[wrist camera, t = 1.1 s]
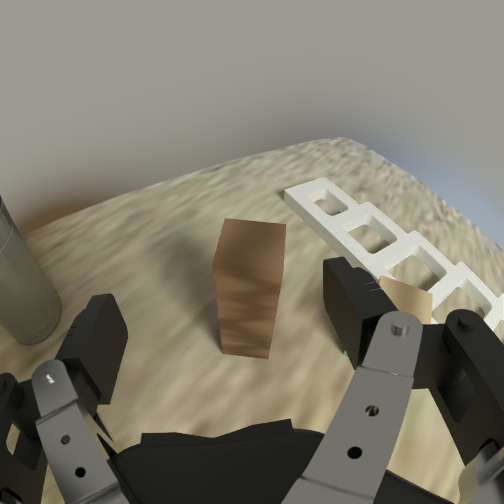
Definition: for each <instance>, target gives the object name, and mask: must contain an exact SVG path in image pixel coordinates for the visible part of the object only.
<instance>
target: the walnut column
mask: <svg viewBox="0 0 504 504" xmlns="http://www.w3.org/2000/svg"><path fill="white" fill-rule="evenodd" d="M285 235H286V224H277V223H267V222H257V221H247V220H237V219H226V218H225V220H224V224H223V227H222V231H221V235H220V238H219V242H218V246H217V250H216V253H215V257H214V261H213V273H214V283H215V292H216V301H217V310H218V319H219V327H220V336H221V344H222V352H223V354H230V355H238V356H246V357H255V358H264V359H268V357H269V351H270V346H271V340H272V335H273V329H274V323H275V318H276V312H277V306H278V300H279V294H280V288H281V282H282V276H283V267H284V251H285Z"/></svg>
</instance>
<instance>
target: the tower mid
mask: <svg viewBox="0 0 504 504" xmlns="http://www.w3.org/2000/svg"><path fill="white" fill-rule="evenodd" d="M377 283H378V284H379V285H380V287H381V289H383V290H384V292H385V293H386V294H387V296H388V297H389V298H390V300H391V301H392V302H393V303H394V305H395V306H396V307H397V309H398V310H399V311H404V312H408V313H411V314H413V315H415V316H416V317H417V318H418V319H419V320H420V321H421V323H422V324H431V315H432V301H433V294H432V293H429V292H427V291H424V290H421V289H419V288H416V287H413V286H410V285H408V284H405V283H402V282H399V281H396V280H394V279H391V278H388V277H385V276H383V275H381V276H380V278H379V280H378V282H377Z"/></svg>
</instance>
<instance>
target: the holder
mask: <svg viewBox="0 0 504 504" xmlns="http://www.w3.org/2000/svg"><path fill="white" fill-rule="evenodd" d="M319 199H324V200H326V201H327V202H328V203H330V204H331V205H332V206H333V207H334V208H335V209H337V210H338V211H339V212H340V213H339V214H337V215H334V216H330V215H327V214H326V213H325V212H324V211H323V210H322V209H320V208H319V207H318V206H317V205H316V204H315V203H314V202H313V201H316V200H319ZM284 202H285V203H286V204H287V205H288V206H289V207H290V208H291V209H292V210H294V211H295V212H296V213H297V214H298V215H299V216H300V217H301V218H302V219H303V220H304V221H305V222H306V223H307V224H308V225H309V226H310V227H311V228H312V229H313V230H314V231H315V232H316V233H317V234H319V235H320V236H321V237H322V238H323V239H324V240H325V241H326V242H327V243H328V244H329V245H330V246H331V247H332V248H333V249H334V250H335V251H336V252H337V253H338V254H339V255H340V256H341V257H342V256H344V257H345V258H346V260H347V261H348V262H349V264H350V265H351V266H352V268H356V267H360V268H362V269H364V270H366V271H367V272H369V273H370V274H371V275H372V276H373V278H374V279H375V280H376V283H377V282H378V280H379V278H380V276H381V275H383V276H385V277H388V278H391V279H394V280H396V279H395V278H394V277H393V276H392V275H391V274H390V273H389V272H388V271H387V270H388V269H390V268H391V267H393V266H394V265H396V264H397V263H399V262H400V261H402V260H403V259H405V258H406V257H408V256H409V255H415V256H416V257H417V258H418V259H419V260H420V261H422V262H423V263H424V264H425V265H426V266H427V267H428V268H429V269H430V270H431V271H432V272H433V273H434V274H435V275H436V276H437V277H438V278H439V279H440V281H439V282H437V283H436V284H435V285H434V286H433V287H432V288H431V289H429V290H428V291H427V292H429V293H432V294H433V301H432V311H433V310H434V309H435V308H436V307H437V306H438V305H439V304H440V303H441V302H442V301H443V300H444V299H445V298H446V297H447V296H448V295H449V294H450V293H451V292H452V291H453V290H454V289H455V288H456V287H460V288H462V289H463V290H464V291H465V292H466V293H467V294H468V295H469V297H470V298H471V299H472V300H473V301H474V302H475V303H476V304H477V305H478V306H479V307H480V308H481V309H482V310H483V312H484V314H485V316H484V318H483V320H484V321H485V322H486V324H487V325H488V326H489V327H490V328H491V330H492V331H494V329H495V327H496V326H497V324H498V323H499V321H500V320H501V319H502V320H503V321H504V293H502V294H501V295H500V297H499V298H497V297H496V296H495V295H494V294H493V293H492V291H491V290H490V289H489V288H488V287H487V286H486V285H485V284H484V283H483V282H482V281H481V280H480V279H479V278H478V277H477V276H476V275H475V274H474V273H473V272H472V271H471V270H470V269H469V268H468V267H467V266H466V265H465V264H464V263H463V262H459V263H458V264H457V265H456V266H455V265H453V264H452V263H451V262H450V261H449V260H448V259H447V258H446V257H445V256H444V255H442V254H441V253H440V252H439V251H438V250H437V249H436V248H435V247H434V246H433V245H432V244H430V243H429V242H428V241H427V240H426V239H425V238H424V237H423V236H422V235H420V234H419V233H418V232H417V231H412V232H411V233H409V234H407V233H405V232H404V231H403V230H402V229H401V228H400V227H399V226H397V225H396V224H395V223H394V222H393V221H392V220H390V219H389V218H388V217H387V216H386V215H385V214H383V213H382V212H381V211H380V210H379V209H377V208H376V207H375V206H374V205H372V204H371V203H370V202H366V203H363V204H358V203H357V202H356V201H354V200H353V199H352V198H351V197H349V196H348V195H347V194H346V193H345V192H343V191H342V190H341V189H339V188H338V187H337V186H336V185H334V184H333V183H332V182H331V181H329V180H328V179H327V178H325V177H322V178H319V179H316V180H313V181H310V182H306V183H303V184H300V185H297V186H294V187H291V188H288V189H285V194H284ZM363 224H366V225H368V226H370V227H371V228H372V229H373V230H374V231H375V232H377V233H378V234H379V235H380V236H381V237H382V238H383V239H384V240H385V241H387V242H388V243H389V244H390V245H389V246H387V247H385V248H384V249H382V250H380V251H379V252H377V253H375V254H371V253H368V252H367V251H366V250H365V249H364V248H363V247H362V246H361V245H360V244H359V243H358V242H357V241H356V240H354V239H353V238H352V237H351V236H350V235H349V234H348V233H347V232H348V231H350V230H352V229H355V228H357V227H359V226H361V225H363ZM396 281H397V280H396ZM431 324H438V323H437V322H436V321H435V320H434V319H433V318H432V316H431Z"/></svg>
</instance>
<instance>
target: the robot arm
mask: <svg viewBox="0 0 504 504" xmlns="http://www.w3.org/2000/svg"><path fill="white" fill-rule="evenodd" d="M323 297H324V304H325V307H326V310H327V313H328V315H329V317H330V319H331V321H332V323H333V325H334V327H335V329H336V331H337V334H338V336H339V338H340V340H341V342H342V344H343V346H344V348H345V351H346V353H347V355H348V357H349V359H350V361H351V364H352V366H353V368H354V370H355V373H354V375H353V377H352V380H351V382H350V384H349V386H348V389H347V391H346V393H345V395H344V397H343V399H342V401H341V404H340V406H339V408H338V410H337V412H336V414H335V416H334V418H333V420H332V422H331V424H330V426H329V428H328V430H327V432H326V434H323V433H320V432H317V431H312V430H307V429H293V427H292V423H291V419H285V420H280V421H274V422H268V423H262V424H255V425H251V426H248V427H245V428H243V429H240V430H237V431H234V432H231V433H228V434H225V435H222V436H219V437H215V438H209V437H201V436H195V435H188V434H182V433H177V432H171V433H142V435H141V443H140V444H137V445H134V446H131V447H129V448H127V449H125V450H123V451H122V450H121V449H120V447H119V446H118V444H117V443H116V441H115V439H114V438H113V436H112V434H111V433H110V431H109V429H108V428H107V426H106V424H105V423H104V421H103V419H102V417H101V415H100V414H99V413H98V411H97V406H98V404H110V402H111V398H112V394H113V390H114V387H115V383H116V379H117V375H118V372H119V368H120V364H121V361H122V357H123V354H124V350H125V347H126V343H127V340H128V331H127V327H126V324H125V321H124V319H123V317H122V315H121V312H120V310H119V308H118V305H117V303H116V301H115V298H114V296H113V295H112V294H110V293H109V294H102V295H95V296H92V298H91V299H90V301H89V303H88V305H87V307H86V309H84V310H83V311H82V312H81V313H80V314H79V315H78V316H77V317H76V318H75V319H74V321H73V323H72V325H71V329H69V331H68V333H67V336H66V337H65V339H64V341H63V343H62V345H61V347H60V349H59V351H58V353H57V355H56V357H55V359H54V360H49V361H46V362H44V363H43V364H41V365H40V366H39V367H38V368H37V369H36V370H35V371H34V373H33V375H32V379H30V380H27V381H23V382H20V383H18V381H17V380H16V379H15V377H14V376H13V375H12V374H11V373H3V374H1V375H0V504H41V498H42V491H43V485H44V480H45V475H46V469H47V465H48V463H49V465H50V468H51V470H52V473H53V475H54V478H55V480H56V483H57V485H58V487H59V490H60V492H61V494H62V496H63V499H64V501H65V504H454V503H452V502H450V501H448V500H446V499H444V498H442V497H440V496H438V495H436V494H433V493H431V492H429V491H427V490H425V489H423V488H421V487H419V486H417V485H415V484H413V483H411V482H410V481H408V480H406V479H404V478H402V477H400V476H398V475H396V474H395V473H393V472H391V471H389V470H387V469H386V468H387V466H388V463H389V460H390V458H391V455H392V452H393V449H394V446H395V444H396V441H397V438H398V435H399V431H400V428H401V425H402V422H403V419H404V415H405V412H406V408H407V405H408V401H409V397H410V393H411V390H412V389H425V388H428V389H429V391H430V393H431V395H432V397H433V399H434V401H435V403H436V405H437V407H438V409H439V411H440V413H441V415H442V417H443V419H444V421H445V423H446V425H447V427H448V429H449V432H450V434H451V436H452V438H453V440H454V442H455V445H456V447H457V449H458V451H459V454H460V456H461V458H462V461H463V463H464V465H465V468H464V469H463V470H462V472H461V474H460V477H459V482H458V483H459V491H460V500H459V504H504V345H503V343H502V342H501V341H500V340H499V338H498V337H497V336H496V335H495V333H494V332H493V331H492V330H491V328H490V327H489V326H488V325H487V324H486V322H485V321H484V320H483V319H482V318H481V317H480V316H479V315H478V314H477V313H475V312H473V311H470V310H466V309H457V310H454V311H452V312H450V313H449V314H448V316H447V318H446V321H445V324H422V323H421V321H420V320H419V319H418V318H417V317H416V316H415V315H413V314H411V313H408V312H404V311H399V310H398V309H397V307H396V306H395V305H394V303H393V302H392V301H391V300H390V298H389V297H388V296H387V294H386V293H385V292H384V290H383V289H381V287H380V285H379V284H378V283H376V280H375V279H374V278H373V276H372V275H371V274H370V273H369V272H367V271H366V270H364V269H362V268H360V267H356V268H352V266H351V265H350V264H349V262H348V261H347V260H346V258H345V257H344V256H342V257H337V258H331V259H325V260H324V261H323ZM60 315H61V302H60V299H59V297H58V295H57V294H56V292H55V291H54V289H53V288H52V286H51V285H50V283H49V282H48V280H47V279H46V277H45V275H44V274H43V272H42V271H41V269H40V267H39V266H38V264H37V263H36V261H35V259H34V258H33V256H32V254H31V253H30V251H29V249H28V248H27V246H26V244H25V242H24V241H23V239H22V237H21V235H20V233H19V232H18V230H17V228H16V226H15V224H14V222H13V220H12V219H11V217H10V215H9V213H8V211H7V209H6V207H5V205H4V202H3V200H2V199H1V196H0V324H1V325H2V326H3V327H4V328H5V329H6V330H7V331H8V332H9V333H10V334H11V335H12V336H13V337H14V338H15V339H16V340H17V341H18V342H20V343H23V344H35V343H38V342H40V341H42V340H43V339H45V338H46V337H47V336H48V335H50V334H51V332H52V331H53V330H54V329H55V327H56V325H57V323H58V321H59V318H60ZM12 423H13V424H14V425H15V426H16V428H17V429H18V430H19V431H20V434H19V437H18V440H17V444H16V447H15V451H14V454H13V455H12V454H11V453H10V452H9V451H8V449H7V445H6V440H7V436H8V433H9V430H10V427H11V424H12Z"/></svg>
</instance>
